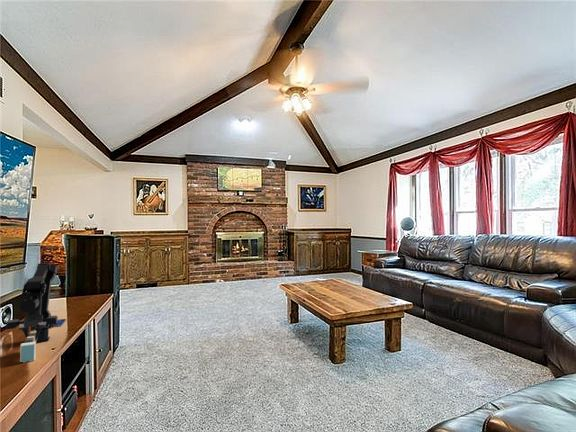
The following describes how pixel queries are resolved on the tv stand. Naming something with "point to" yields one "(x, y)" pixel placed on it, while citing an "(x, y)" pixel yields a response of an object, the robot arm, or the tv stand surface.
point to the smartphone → (59, 323)
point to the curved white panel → (31, 337)
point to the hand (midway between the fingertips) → (32, 340)
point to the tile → (27, 351)
